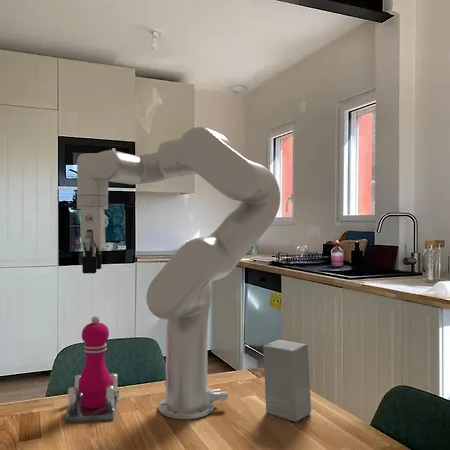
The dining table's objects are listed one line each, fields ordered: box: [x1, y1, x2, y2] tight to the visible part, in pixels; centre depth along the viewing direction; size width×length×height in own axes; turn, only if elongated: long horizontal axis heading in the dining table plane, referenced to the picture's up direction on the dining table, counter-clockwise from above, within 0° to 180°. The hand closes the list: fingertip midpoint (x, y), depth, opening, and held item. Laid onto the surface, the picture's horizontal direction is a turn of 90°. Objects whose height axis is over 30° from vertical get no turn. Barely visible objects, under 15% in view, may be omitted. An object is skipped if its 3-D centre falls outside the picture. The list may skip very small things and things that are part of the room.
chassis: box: [64, 373, 120, 424], centre depth 103 cm, size 10×14×6 cm
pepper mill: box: [78, 315, 111, 408], centre depth 103 cm, size 7×7×20 cm
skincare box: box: [262, 338, 312, 423], centre depth 101 cm, size 8×7×16 cm
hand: (92, 271), depth 114 cm, fingers open, 9 cm apart
